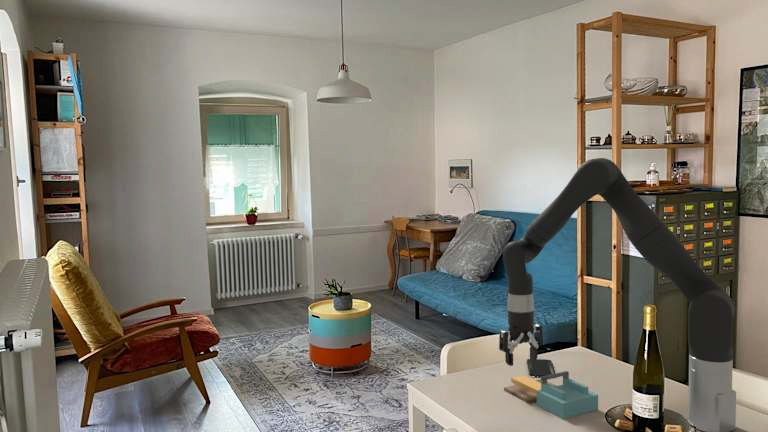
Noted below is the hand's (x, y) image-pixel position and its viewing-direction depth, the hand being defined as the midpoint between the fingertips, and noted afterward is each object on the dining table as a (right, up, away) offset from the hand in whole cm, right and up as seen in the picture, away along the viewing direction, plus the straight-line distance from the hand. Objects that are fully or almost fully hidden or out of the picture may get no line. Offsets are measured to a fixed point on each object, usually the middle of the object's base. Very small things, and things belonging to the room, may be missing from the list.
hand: (521, 362), depth 173 cm
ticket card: (+2, -6, -4) cm, 7 cm away
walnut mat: (+3, -7, -5) cm, 9 cm away
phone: (+9, -6, +14) cm, 18 cm away
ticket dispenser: (+8, -8, -17) cm, 20 cm away
